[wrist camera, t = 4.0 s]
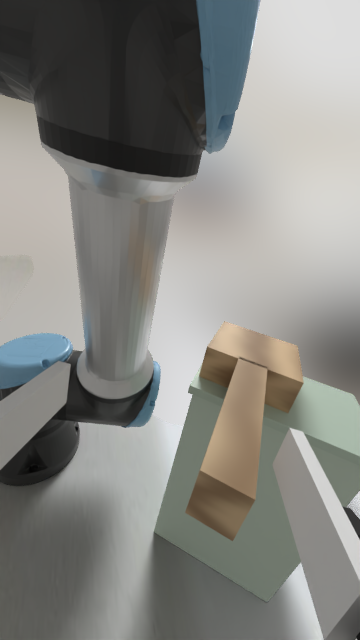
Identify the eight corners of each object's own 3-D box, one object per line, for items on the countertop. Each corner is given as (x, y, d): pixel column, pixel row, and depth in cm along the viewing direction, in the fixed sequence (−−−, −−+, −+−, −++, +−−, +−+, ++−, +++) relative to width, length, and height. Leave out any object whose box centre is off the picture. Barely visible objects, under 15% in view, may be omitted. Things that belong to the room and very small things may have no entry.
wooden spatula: (135, 483, 15) (144, 440, 14) (217, 345, 35) (224, 321, 33) (296, 579, 12) (330, 540, 11) (285, 370, 32) (297, 345, 30)
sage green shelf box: (149, 533, 37) (189, 385, 25) (175, 472, 47) (213, 344, 35) (270, 609, 32) (391, 469, 20) (271, 523, 42) (353, 394, 30)
